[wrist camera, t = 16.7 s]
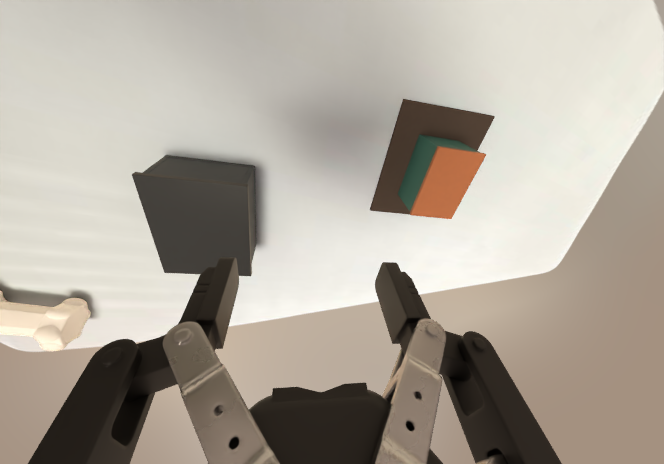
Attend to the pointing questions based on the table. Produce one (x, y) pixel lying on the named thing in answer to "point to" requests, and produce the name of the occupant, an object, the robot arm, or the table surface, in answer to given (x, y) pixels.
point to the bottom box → (199, 212)
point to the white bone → (45, 321)
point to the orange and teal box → (438, 176)
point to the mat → (407, 130)
